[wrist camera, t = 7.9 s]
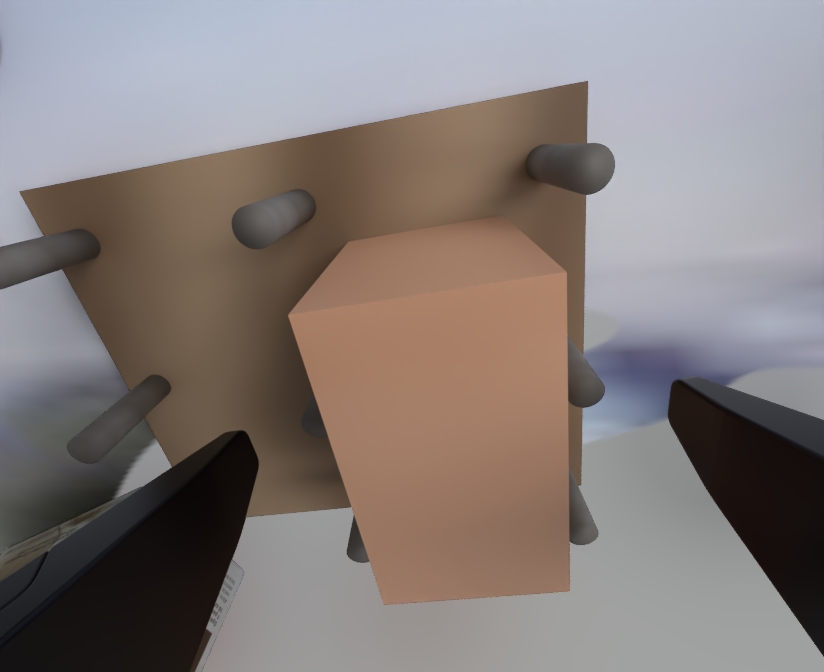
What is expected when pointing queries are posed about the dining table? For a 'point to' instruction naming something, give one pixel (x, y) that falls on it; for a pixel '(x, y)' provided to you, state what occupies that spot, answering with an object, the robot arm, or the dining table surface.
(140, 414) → the brown peg board
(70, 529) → the coffee box
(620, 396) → the dining table surface
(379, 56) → the dining table surface
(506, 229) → the peach rectangular block
